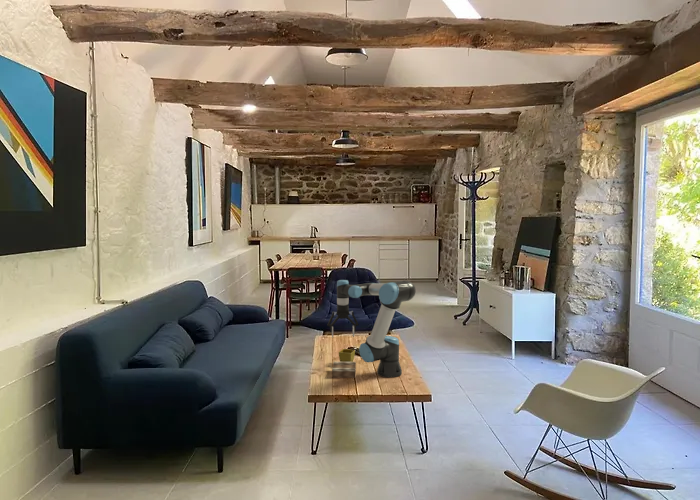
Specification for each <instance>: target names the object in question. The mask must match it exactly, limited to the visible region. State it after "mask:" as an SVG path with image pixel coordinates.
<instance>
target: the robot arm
mask: <svg viewBox="0 0 700 500" xmlns="http://www.w3.org/2000/svg"><path fill="white" fill-rule="evenodd" d="M416 294H417V291H416V286H415V285H414V283H413V282H411V281H409V280H402V281H394V282H392V281H391V282H386V283H385V282H384V283H381V282H380V283H379V282H378V283H377V282H376V283H375V282H367V283H361V284H349V280H348V279H339V280H337V281H336V311H332V312H331V316H330V318H329V320H328V323H327V324H326V325H327V327H329V332H330V333H331V338H334V326H335V324H336V322H337V321H339V319H342V320H345V319H348V321H349V322H350V323H351V324H352V337H355V332H356V331H357V326H359V322H358V320H357V318H356V316H355V314H354V310H351V311H350V309H349V308H350V307H349V301H350V300H349V298H352V299H354V298H355V299H358V298H360V297H363V296H378V299H379V302H380V304H381V305H380V307H379V310H378V313H377V317H376V318H375V322H374V324H373V327H372V330H371V333H370V335H368V336H367V337H366V339H365V342H362V343H361V344H360V345H359V347H358V349H359V350H358V352H359V356H360V358H361V359H362V360H363V362H365V363H373V362H377V361H379V363H378V366H377V369H376V370H377V371H376V373H377V375H378V376H380V377H383V378H397V377H400V376H402V373H403V369H402V367H401V364H400V342H399V338H398V337H396V336H391V335H387V334H388V332H389V329H390V326H391V323H392V320H393V319H394V316H395V312H396V311H397V310H399V309H400V307H401V305H402V302H403V303H404V302H408V301H410V300H413V298H414V297H415V296H416ZM336 315H337V316H336ZM349 315H350V316H352V318H353V319H351V318H350V316H349ZM335 316H336V317H335ZM334 317H335V319H334ZM333 319H334V320H333ZM332 320H333V321H332ZM353 320H354V321H353Z"/></svg>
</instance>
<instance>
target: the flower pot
mask: <svg viewBox="0 0 700 500" xmlns="http://www.w3.org/2000/svg"><path fill="white" fill-rule="evenodd" d="M355 355H356V350H355V349H349V348H342V349H341V350H340V351H338V358H339V362H354V360H355Z"/></svg>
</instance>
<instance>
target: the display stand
mask: <svg viewBox="0 0 700 500" xmlns="http://www.w3.org/2000/svg"><path fill="white" fill-rule="evenodd" d="M332 364H333V365H332V367H331V378H335V379H336V378H337V379H338V378H339V379H344V378H345V379H347V378H348V379H349V378H350V379H351V378H352V379H354V378H355V379H356V372H357V367H356V364H357V362H356V361H353V362H340V361H333V363H332Z"/></svg>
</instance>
